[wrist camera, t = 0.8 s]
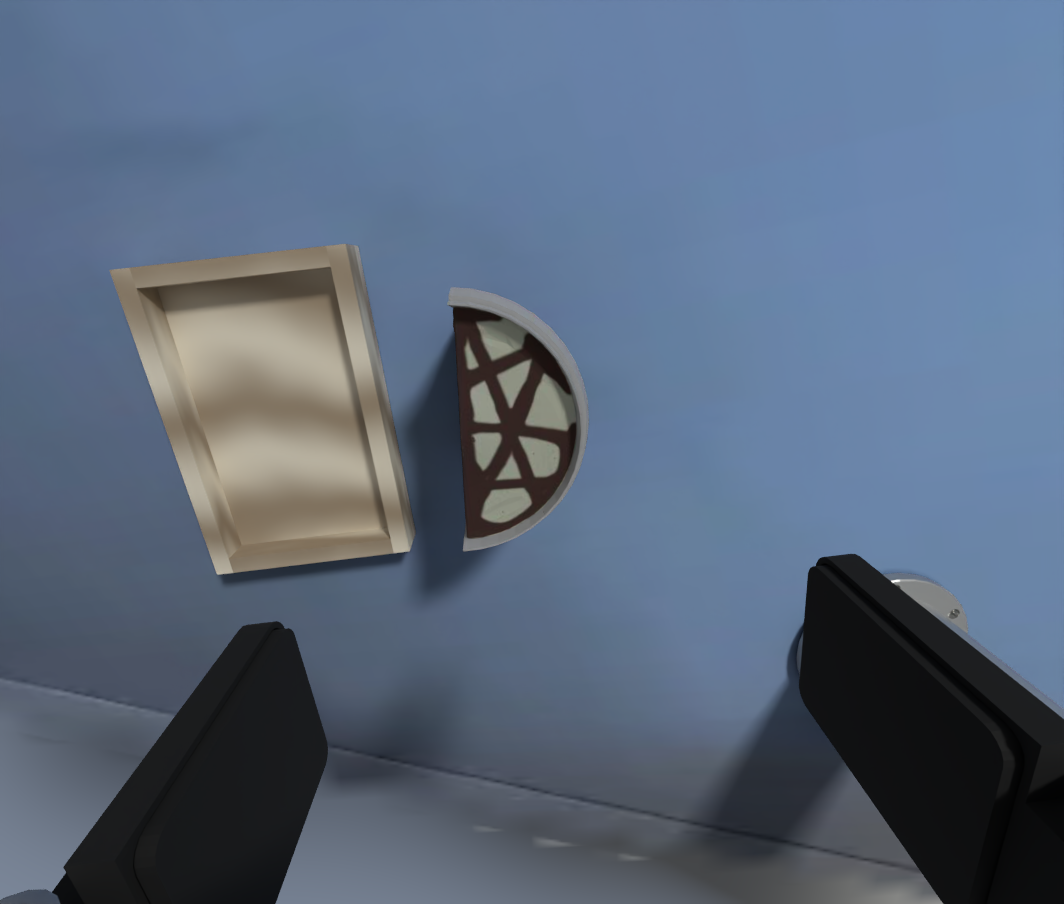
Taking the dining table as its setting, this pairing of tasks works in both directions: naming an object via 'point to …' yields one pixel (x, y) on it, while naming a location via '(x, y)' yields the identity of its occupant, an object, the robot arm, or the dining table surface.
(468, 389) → the food container
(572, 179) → the dining table surface
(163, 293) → the holder tray
